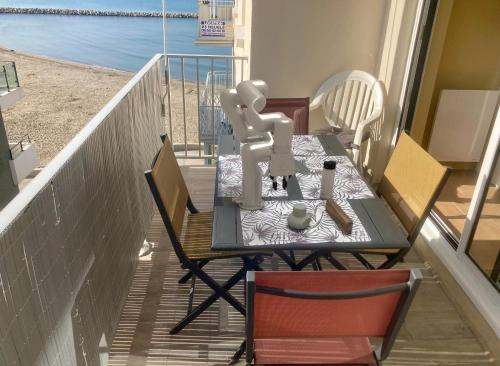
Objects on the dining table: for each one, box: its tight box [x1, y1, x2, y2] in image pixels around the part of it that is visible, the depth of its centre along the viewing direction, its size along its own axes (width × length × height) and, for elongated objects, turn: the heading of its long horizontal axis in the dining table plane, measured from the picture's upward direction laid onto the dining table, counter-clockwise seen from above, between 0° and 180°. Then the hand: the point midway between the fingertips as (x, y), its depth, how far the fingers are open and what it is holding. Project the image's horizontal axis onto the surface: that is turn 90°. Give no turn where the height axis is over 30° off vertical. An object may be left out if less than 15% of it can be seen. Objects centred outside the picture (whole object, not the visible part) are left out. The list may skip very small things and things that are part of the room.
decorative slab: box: [294, 158, 314, 176], centre depth 246 cm, size 26×24×2 cm
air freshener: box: [286, 202, 312, 230], centre depth 183 cm, size 11×8×10 cm
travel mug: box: [319, 160, 337, 201], centre depth 206 cm, size 6×7×20 cm
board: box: [325, 197, 354, 235], centre depth 188 cm, size 3×22×6 cm, turn 14°
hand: (279, 188), depth 175 cm, fingers open, 3 cm apart
